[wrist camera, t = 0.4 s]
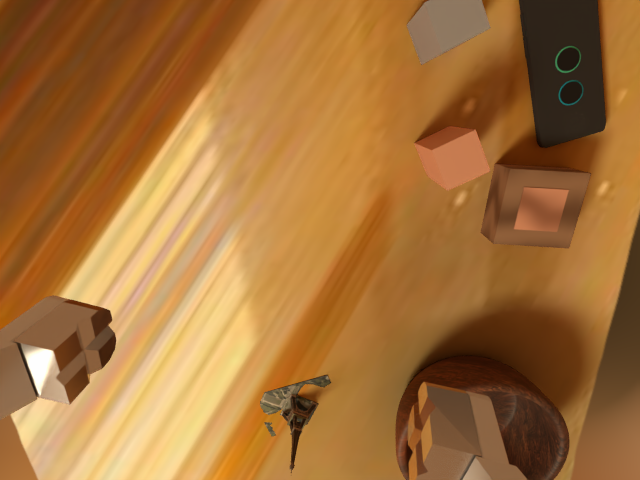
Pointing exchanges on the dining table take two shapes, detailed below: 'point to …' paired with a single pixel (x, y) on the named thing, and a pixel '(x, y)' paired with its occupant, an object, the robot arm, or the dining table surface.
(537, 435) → the wooden bowl
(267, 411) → the eiffel tower figurine
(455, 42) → the grey block
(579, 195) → the walnut base block
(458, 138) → the terracotta block
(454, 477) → the robot arm
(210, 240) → the dining table surface
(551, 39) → the smart home device
